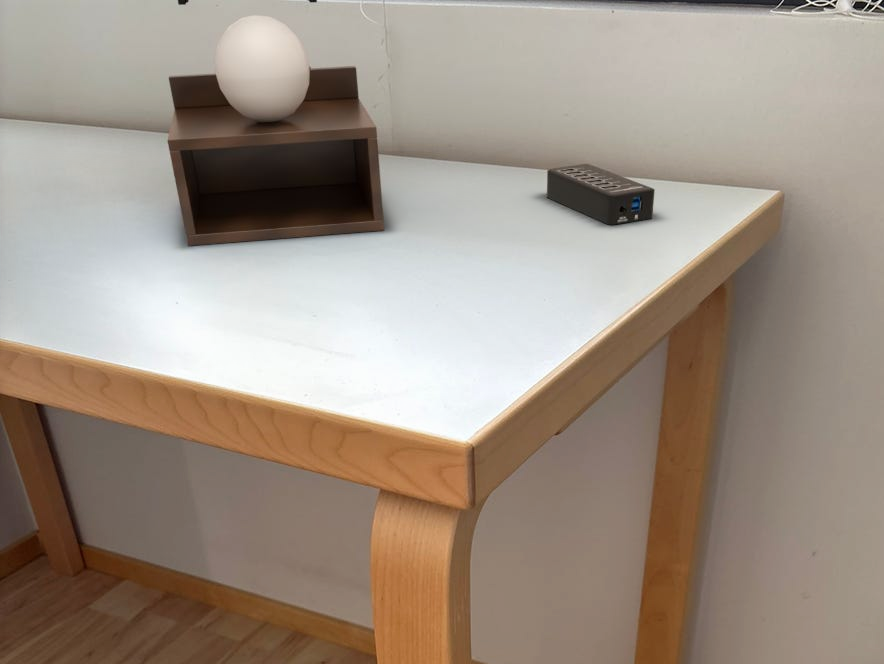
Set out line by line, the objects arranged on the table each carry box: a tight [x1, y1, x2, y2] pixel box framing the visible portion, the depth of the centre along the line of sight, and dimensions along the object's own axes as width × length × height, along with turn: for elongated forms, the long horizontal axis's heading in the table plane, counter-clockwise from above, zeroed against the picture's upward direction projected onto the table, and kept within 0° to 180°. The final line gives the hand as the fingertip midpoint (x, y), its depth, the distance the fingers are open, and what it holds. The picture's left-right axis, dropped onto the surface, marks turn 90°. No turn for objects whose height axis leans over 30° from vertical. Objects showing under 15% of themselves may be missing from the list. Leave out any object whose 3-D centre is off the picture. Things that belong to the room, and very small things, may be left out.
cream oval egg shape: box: [214, 14, 312, 122], centre depth 79 cm, size 10×7×7 cm
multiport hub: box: [546, 163, 656, 226], centre depth 86 cm, size 4×11×2 cm, turn 26°
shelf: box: [166, 65, 385, 247], centre depth 83 cm, size 16×14×10 cm
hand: (248, 1), depth 76 cm, fingers open, 9 cm apart
